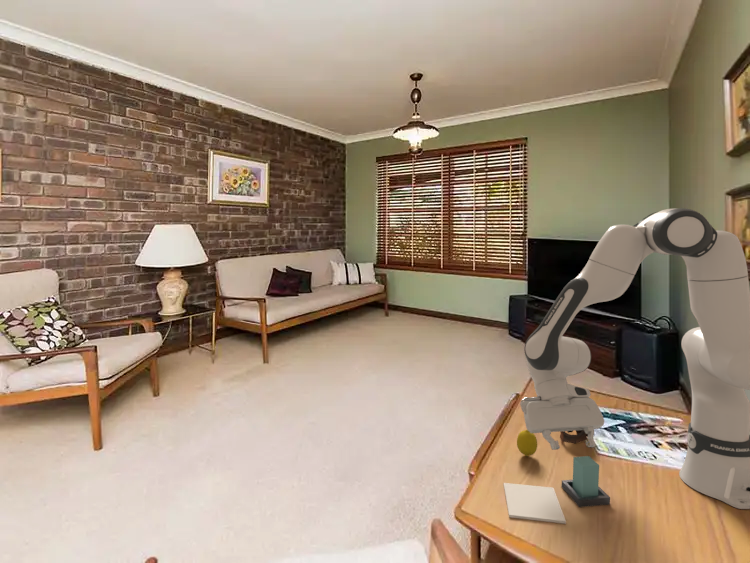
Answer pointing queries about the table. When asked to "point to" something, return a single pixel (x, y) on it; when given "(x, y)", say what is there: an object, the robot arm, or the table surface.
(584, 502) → the metal cradle
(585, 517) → the table surface
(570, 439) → the pottery mug
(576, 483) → the teal block
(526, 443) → the lemon
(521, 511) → the white mat
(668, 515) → the table surface
